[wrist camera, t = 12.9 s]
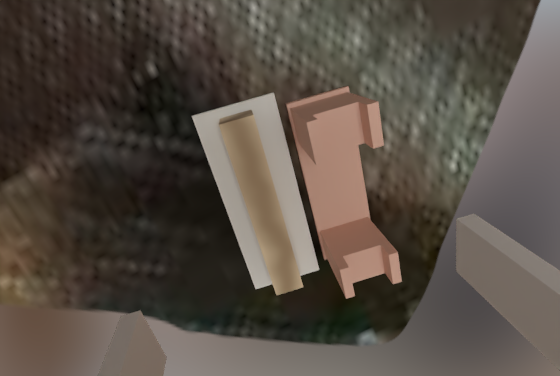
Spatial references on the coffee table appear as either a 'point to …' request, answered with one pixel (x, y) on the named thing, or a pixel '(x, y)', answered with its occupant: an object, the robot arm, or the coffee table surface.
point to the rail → (261, 199)
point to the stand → (342, 182)
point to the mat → (281, 177)
